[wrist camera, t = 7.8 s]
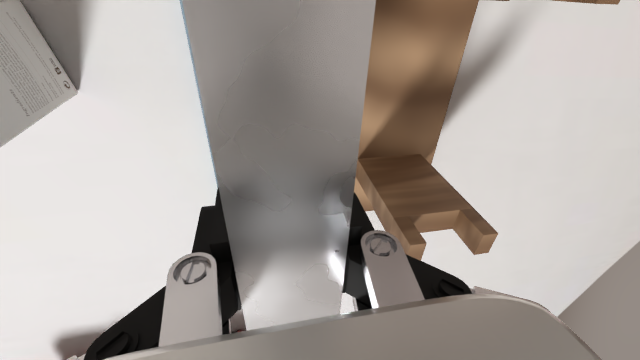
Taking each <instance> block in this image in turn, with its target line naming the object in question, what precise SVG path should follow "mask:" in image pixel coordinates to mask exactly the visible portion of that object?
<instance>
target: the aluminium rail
mask: <svg viewBox="0 0 640 360" xmlns="http://www.w3.org/2000/svg"><path fill="white" fill-rule="evenodd" d="M182 4H183V9H184V14H185V19H186V24H187V29H188V34H189V39H190V44H191V50H192V55H193V60H194V65H195V70H196V75H197V80H198V85H199V90H200V95H201V101H202V106H203V111H204V116H205V121H206V126H207V131H208V136H209V141H210V146H211V152H212V157H213V162H214V167H215V172H216V177H217V182H218V187H219V192H220V198H221V203H222V208H223V213H224V218H225V223H226V228H227V233H228V238H229V243H230V249H231V254H232V259H233V264H234V269H235V274H236V279H237V284H238V289H239V294H240V300H241V305H242V310H243V315H244V320H245V325H246V330H252V329H258V328H263V327H269V326H275V325H280V324H286V323H292V322H297V321H303V320H309V319H314V318H320V317H326V316H332V315H337V314H340V307H341V298H342V290H343V281H344V272H345V264H346V255H347V246H348V238H349V229H350V220H351V212H352V203H353V195H354V186H355V177H356V169H357V160H358V151H359V143H360V134H361V125H362V117H363V108H364V100H365V91H366V82H367V74H368V65H369V56H370V48H371V39H372V30H373V22H374V13H375V4H376V0H182Z"/></svg>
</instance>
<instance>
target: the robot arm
mask: <svg viewBox="0 0 640 360" xmlns="http://www.w3.org/2000/svg"><path fill="white" fill-rule="evenodd" d="M345 292H346V293H347V294H349V295H351V296H353V304H354V310H355V312H349V313H343V314H337V315H332V316H326V317H320V318H314V319H309V320H303V321H297V322H292V323H286V324H280V325H275V326H269V327H263V328H258V329H252V330H247V331H241V332H236V333H231V324H230V318H231V317H232V316H233V315H234V314H235V313H236V312H237V311H238V310H240V309H241V300H240V294H239V289H238V284H237V279H236V274H235V269H234V264H233V259H232V254H231V249H230V243H229V238H228V233H227V228H226V223H225V218H224V213H223V208H222V203H221V198H220V192H219V187H218V190H217V196H216V203H215V206H206V207H202V208H201V212H200V216H199V221H198V226H197V231H196V235H195V240H194V245H193V249H192V253H191V254H188V255H185V256H183V257H182V258H180V259H178V260H177V261H176V262H175V263H174V264H173V265H172V266H171V268H170V269H169V272H168V276H167V284H166V286H165V287H163V288H162V289H161V290H159V291H158V292H157V293H155V294H154V295H153V296H152V297H150V298H149V299H148V300H146V301H145V302H144V303H142V304H141V305H140V306H138V307H137V308H136V309H134V310H133V311H132V312H130V313H129V314H128V315H126V316H125V317H124V318H122V319H121V320H120V321H119V322H117V323H116V324H115V325H113V326H112V327H111V328H109V329H108V330H107V331H105V332H104V333H103V334H102V335H100V336H99V337H98V338H97V339H96V340H95V341H94V342H93V343H92V345H91V346H90V347H89V349H88V350H87V352H86V353H85V354H84V355H82V356H80V357H78V358H77V356H76V355H74V356H72V357H70V358H68V359H66V360H602V359H601V358H600V357H599V356H598V355H597V354H596V353H595V352H594V351H593V350H592V349H591V348H590V347H589V346H588V345H587V344H586V343H585V342H584V341H583V340H582V339H581V338H580V337H578V336H577V334H575V333H574V332H573V331H572V330H571V329H570V328H569V327H568V326H567V325H566V324H565V323H563V322H562V321H561V320H560V319H559V318H557V317H556V316H555V315H554V314H552V313H551V312H550V311H549V310H548V309H547V308H545V307H543V306H542V305H540V304H539V303H536V302H533V301H531V300H527V299H523V298H519V297H515V296H511V295H507V294H503V293H500V292H496V291H492V290H488V289H484V288H480V287H476V286H474V288H473V289H471V288H469V287H468V286H467V285H466V284H465V283H464V282H463V281H462V280H460V279H459V278H457V277H455V276H453V275H451V274H449V273H446V272H444V271H442V270H440V269H437V268H435V267H433V266H431V265H429V264H426V263H424V262H422V261H420V260H418V259H415V258H413V257H411V256H409V255H407V254H405V252H404V250H403V248H402V245H401V243H400V242H399V240H398V239H397V238H396V237H395V236H394V235H392V234H390V233H388V232H385V231H380V230H374V228H373V226H372V224H371V222H370V220H369V218H368V216H367V214H366V212H365V211H364V209H363V207H362V205H361V203H360V201H359V199H358V197H357V195H356V194H355V193H354V195H353V203H352V212H351V220H350V229H349V238H348V246H347V255H346V264H345V272H344V281H343V290H342V293H345Z"/></svg>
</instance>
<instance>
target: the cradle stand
mask: <svg viewBox="0 0 640 360" xmlns="http://www.w3.org/2000/svg"><path fill="white" fill-rule="evenodd" d="M478 1H479V0H376V4H375V13H374V22H373V30H372V39H371V48H370V56H369V65H368V74H367V82H366V91H365V100H364V108H363V117H362V125H361V134H360V143H359V151H358V160H357V169H356V177H355V186H354V193H355V194H356V195H357V197H358V199H359V201H360V203H361V205H362V207H363V209H364V211H372V210H374V211H375V213H376V214H377V216H378V218H379V220H380V222H381V223H382V225H383V227H384V229H385V231H386V232H388V233H390V234H392V235H394V236H395V237H396V238H397V239H398V240H399V242H400V243H401V245H402V248H403V250H404V252H405V254H407V255H409V256H411V257H413V258H415V259H418V260H420V261H421V258H422V255H423V252H424V249H425V246H426V242H425V240H424V239H423V237H422V236H421V234H420V233H423V232H431V231H438V230H446V229H453V230H454V231H455V232H456V233H457V234H458V236H459V237H460V238H461V239H462V241H463V242H464V243H465V244H466V245H467V247H468V248H469V249H470V250H471V252H472V253H473V254H474V255H475V254H482V253H488V252H489V250H490V248H491V246H492V244H493V242H494V240H495V239H496V237H497V235H498V233H497V232H496V231H495V230H494V228H493V227H492V226H491V225H490V224H489V223H488V222H487V221H486V220H485V219H484V218H483V217H482V216H481V215H480V214H479V213H478V212H477V211H476V210H475V209H474V208H473V207H472V206H471V205H470V204H469V203H468V202H467V201H466V200H465V199H464V198H463V197H462V196H461V195H460V194H459V193H458V192H457V191H456V190H455V189H454V188H453V187H452V186H451V185H450V184H449V183H448V182H447V181H446V180H445V179H444V178H443V177H442V176H441V175H440V174H439V173H438V172H437V171H436V169H435V168H434V167H433V166H432V165H431V163H432V160H433V156H434V153H435V149H436V146H437V142H438V139H439V136H440V132H441V129H442V125H443V122H444V118H445V115H446V111H447V108H448V105H449V101H450V98H451V94H452V91H453V87H454V84H455V80H456V77H457V74H458V70H459V67H460V63H461V60H462V56H463V53H464V49H465V46H466V43H467V39H468V36H469V32H470V29H471V25H472V22H473V18H474V15H475V12H476V8H477V5H478ZM497 1H509V0H497ZM554 1H567V2H581V3H594V4H618V3H619V2H620V0H554Z"/></svg>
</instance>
